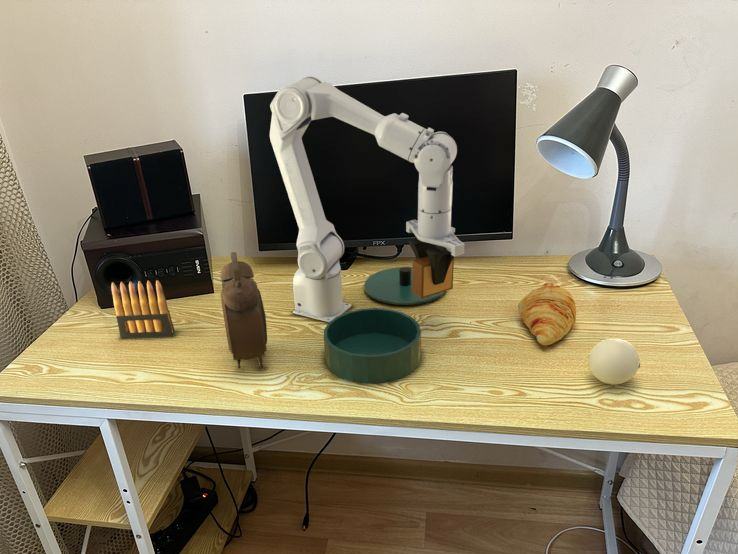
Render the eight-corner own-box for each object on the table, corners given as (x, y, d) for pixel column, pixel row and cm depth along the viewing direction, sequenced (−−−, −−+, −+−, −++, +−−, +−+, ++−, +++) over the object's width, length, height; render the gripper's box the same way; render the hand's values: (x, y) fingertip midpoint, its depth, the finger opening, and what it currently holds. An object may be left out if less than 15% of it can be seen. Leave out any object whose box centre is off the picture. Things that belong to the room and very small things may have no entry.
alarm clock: (275, 374, 112) (262, 270, 101) (234, 381, 111) (216, 276, 100) (266, 334, 124) (253, 238, 114) (228, 340, 123) (212, 243, 113)
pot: (313, 377, 110) (311, 350, 107) (340, 329, 123) (339, 304, 121) (410, 389, 105) (410, 361, 102) (427, 337, 118) (428, 312, 115)
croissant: (559, 369, 112) (589, 336, 107) (509, 341, 112) (536, 308, 107) (558, 310, 129) (584, 280, 124) (515, 286, 129) (538, 255, 124)
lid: (355, 303, 132) (354, 284, 130) (375, 269, 146) (374, 250, 144) (439, 310, 127) (440, 290, 124) (452, 274, 140) (452, 255, 138)
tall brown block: (411, 292, 118) (412, 260, 115) (442, 283, 121) (443, 251, 117) (421, 298, 116) (422, 266, 112) (453, 289, 118) (454, 256, 115)
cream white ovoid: (639, 395, 98) (649, 355, 95) (588, 392, 100) (595, 352, 96) (628, 360, 107) (636, 322, 103) (580, 358, 108) (586, 320, 105)
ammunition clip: (120, 338, 127) (106, 284, 121) (123, 334, 129) (109, 280, 123) (172, 336, 126) (160, 281, 120) (175, 332, 128) (163, 277, 122)
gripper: (480, 214, 106) (475, 288, 113) (428, 192, 117) (427, 261, 124) (446, 223, 103) (443, 298, 110) (396, 201, 114) (396, 270, 122)
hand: (432, 279), depth 117 cm, fingers closed on tall brown block, 3 cm apart
